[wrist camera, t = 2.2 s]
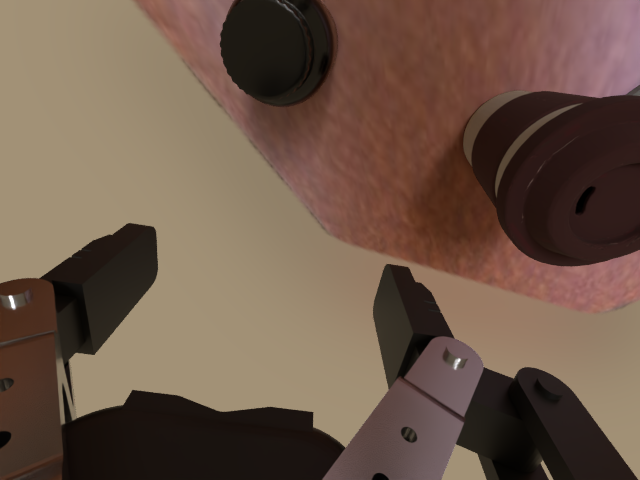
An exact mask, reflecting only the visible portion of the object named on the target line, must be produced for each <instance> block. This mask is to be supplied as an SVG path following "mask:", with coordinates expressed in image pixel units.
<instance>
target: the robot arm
mask: <svg viewBox="0 0 640 480" xmlns="http://www.w3.org/2000/svg"><path fill="white" fill-rule="evenodd" d="M157 271H158V261H157V240H156V231H155V228H154V227H151V226H145V225H138V224H132V223H128V224H126V225H125V226H124V227H123V228H121V229H120V230H118V231H117V232H116V233H114V234H113V235H107V236H104V237H102V238H99V239H96V240H93V241H92V242H90V243H89V244H88V245H86V246H85V247H84V248H82V250H79V251H78V252H76V253H75V254H73V255H72V257H69V258H68V259H66V260H65V261H63V262H62V263H61V264H59V265H58V266H56V267H55V268H54V269H52V270H51V271H49V272H48V273H46V274H45V275H44V276H42V277H41V278H39V279H37V278H24V279H16V280H11V281H7V282H3V283H0V480H441V479H442V476H443V474H444V471H445V469H446V466H447V464H448V461H449V459H450V456H451V454H452V452H453V449H454V447H455V444H457V445H459V446H462V447H464V448H466V449H468V450H471V451H473V452H475V453H477V454H478V457H479V459H480V462H481V465H482V468H483V470H484V473H485V476H486V479H487V480H549V479H548V477H547V475H546V473H545V472H544V470H543V468H542V466H541V464H540V463H541V462H542V460H543V461H544V462H545V464H546V466H547V468H548V470H549V472H550V474H551V476H552V477H553V479H554V480H638V479H637V477H636V476H635V475H634V473H633V472H632V471H631V469H630V468H629V467H628V465H627V464H626V463H625V461H624V460H623V458H622V457H621V456H620V454H619V453H618V452H617V450H616V449H615V448H614V446H613V445H612V444H611V442H610V441H609V440H608V438H607V437H606V435H605V434H604V433H603V431H602V430H601V429H600V428H599V426H598V425H597V423H596V422H595V421H594V419H593V418H592V417H591V415H590V414H589V413H588V411H587V410H586V408H585V407H584V406H583V405H582V403H581V402H580V401H579V399H578V398H577V396H576V395H575V394H574V392H573V391H572V390H571V389H570V388H569V387H568V386H567V385H565V384H564V383H563V382H562V381H560V380H559V379H558V378H556V377H554V376H553V375H551V374H549V373H547V372H545V371H542V370H539V369H536V368H530V367H525V368H522V369H520V370H519V371H518V373H517V374H516V376H515V378H514V379H513V378H510V377H508V376H505V375H502V374H500V373H497V372H494V371H492V370H489V369H487V368H484V367H483V362H482V360H481V358H480V357H479V355H478V354H477V353H476V352H475V351H474V350H473V349H472V348H471V347H469V346H468V345H466V344H465V343H463V342H461V341H459V340H457V339H455V338H454V336H453V335H452V333H451V330H450V329H449V327H448V325H447V323H446V321H445V319H444V317H443V315H442V313H440V309H439V307H438V305H437V304H436V301H435V299H434V297H433V295H432V293H431V292H430V291H429V290H428V289H427V288H426V287H425V286H424V285H423V284H422V283H418V282H415V280H414V278H413V276H412V274H411V272H410V269H409V268H408V267H404V266H398V265H391V264H387V265H386V266H385V268H384V270H383V274H382V277H381V280H380V284H379V287H378V291H377V294H376V297H375V300H374V306H373V317H374V322H375V327H376V332H377V336H378V341H379V345H380V350H381V355H382V360H383V364H384V369H385V374H386V379H387V383H388V388H389V390H388V392H387V393H386V394H385V396H384V397H383V399H382V400H381V401H380V403H379V404H378V405H377V407H376V408H375V409H374V411H373V412H372V413H371V415H370V416H369V417H368V419H367V420H366V421H365V423H364V424H363V426H362V427H361V428H360V429H359V431H358V432H357V433H356V435H355V436H354V437H353V439H352V440H351V441H350V443H349V444H348V446H347V447H346V448H345V447H344V446H343V445H342V444H341V443H340V442H338V441H337V440H336V439H334V438H333V437H331V436H330V435H328V434H326V433H324V432H323V431H321V430H319V429H316V428H313V412H307V411H299V410H291V409H283V408H275V407H265V408H256V409H247V410H238V411H230V412H220V411H216V410H214V409H211V408H208V407H206V406H203V405H201V404H198V403H196V402H193V401H191V400H188V399H186V398H183V397H181V396H177V395H169V394H161V393H153V392H145V391H137V390H132V392H131V393H130V395H129V397H128V398H127V400H126V402H125V403H124V405H121V406H115V407H110V408H106V409H102V410H99V411H95V412H92V413H90V414H87V415H84V416H82V417H79V418H77V416H76V409H75V399H74V391H73V382H72V373H71V366H70V361H69V359H70V358H71V357H72V356H73V355H74V354H75V353H84V354H91V355H95V353H96V352H97V351H98V350H99V348H100V347H101V346H102V345H103V344H104V343H105V341H106V340H107V339H108V338H109V336H110V335H111V334H112V333H113V332H114V330H115V329H116V328H117V327H118V326H119V324H120V323H121V322H122V321H123V320H124V318H125V317H126V316H127V315H128V314H129V312H130V311H131V310H132V309H133V308H134V306H135V305H136V304H137V303H138V301H139V300H140V299H141V298H142V297H143V295H144V294H145V293H146V292H147V291H148V289H149V288H150V287H151V286H152V284H153V283H154V281H155V279H156V276H157Z"/></svg>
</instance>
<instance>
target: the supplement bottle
mask: <svg viewBox="0 0 640 480" xmlns="http://www.w3.org/2000/svg"><path fill="white" fill-rule="evenodd" d="M220 35H221V41H220V47H221V56H222V58H223V64H224V66H225V67H226V68H227V73H228V74H229V75H230V76H231V78H232V81H233V82H234V83H236V84H237V85H238V87H239V89H242V90H244V92H245V93H246V94H249V95H250V96H252V97H253V98H255V99H256V100H258V101H260V102H262V103H264V104H267V105H271V106H276V107H289V106H294V105H297V104H300V103H302V102H304V101H306V100H307V99H309V98H310V97H312V96H313V95H314V94H315V93H316V92H317V91H318V90H319V89H320V88H321V86H322V85H323V83H324V82H325V80H326V79H327V77H328V75H329V73H330V71H331V69H332V67H333V64H334V62H335V59H336V55H337V50H338V35H337V29H336V25H335V22H334V20H333V17H332V15H331V14H330V12H329V10H328V9H327V8H326V6H325V5H324V4H323V3H322V2H321V1H320V0H234V2H233V3H232V5H231V7H230V9H229V11H228V14H227V17H226V20H225V22H224V23H223V30H222V32H221V34H220Z"/></svg>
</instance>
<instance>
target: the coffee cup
mask: <svg viewBox="0 0 640 480" xmlns="http://www.w3.org/2000/svg"><path fill="white" fill-rule="evenodd" d="M463 148H464V153H465V156H466V158H467V160H468V162H469V163H470V165H471V166H472V168H473V171H474V174H475V176H476V178H477V180H478V181H479V183H480V184H481V186H482V188H483V189H484V191H485V192H486V194H487V195H488V197H489V198H490V200H491V201H492V203H493V204H494V206H495V207H496V209H497V215H498V219H499V222H500V224H501V227H502V229H503V230H504V232H505V233H506V235H507V236H508V237H509V238H510V240H511V241H512V242H513V244H514V245H515V246H516V247H517V248H518V249H519V250H520V251H521V252H523V253H524V254H525V255H527V256H528V257H530V258H532V259H534V260H537V261H540V262H542V263H546V264H550V265H557V266H582V265H591V264H595V263H599V262H603V261H608V260H610V259H613V258H618V257H621V256H624V255H627V254H631V253H633V252H635V251H638V250H640V96H635V95H621V96H610V97H603V98H595V97H587V96H580V95H573V94H565V93H558V92H549V91H541V92H529V91H510V92H506V93H503V94H500V95H497V96H495V97H493V98H492V99H490V100H488V101H487V102H485V103H484V104H483V105H482V106H481V107H480V108H479V109H478V110H477V111H476V112H475V113H474V115H473V116H472V117H471V119H470V121H469V123H468V124H467V127H466V129H465V133H464V137H463Z"/></svg>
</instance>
